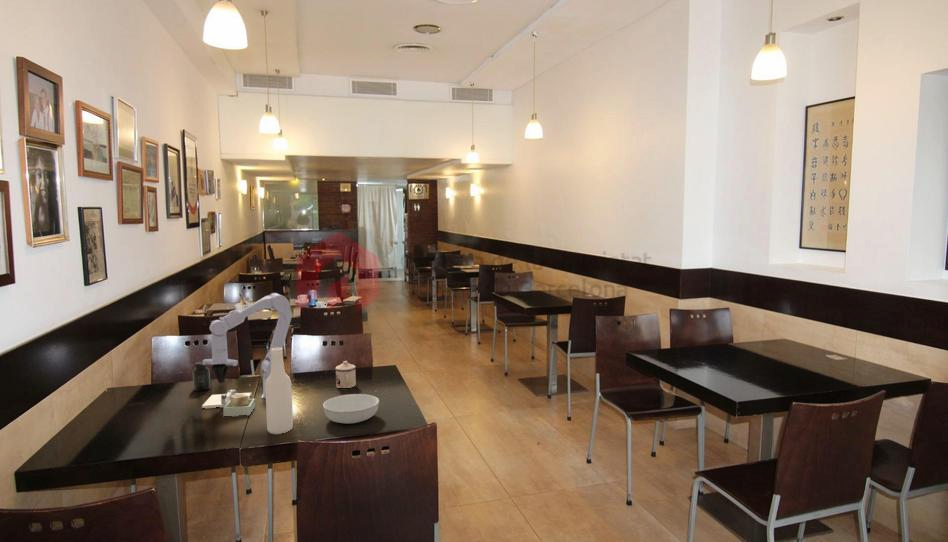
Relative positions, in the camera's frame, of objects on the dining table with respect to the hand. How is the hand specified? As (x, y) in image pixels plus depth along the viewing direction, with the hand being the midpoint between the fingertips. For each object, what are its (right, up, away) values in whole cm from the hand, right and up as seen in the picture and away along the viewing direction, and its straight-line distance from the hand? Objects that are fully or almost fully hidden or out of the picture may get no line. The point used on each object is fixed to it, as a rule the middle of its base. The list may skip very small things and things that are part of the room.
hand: (221, 382), depth 227 cm
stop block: (+11, -10, -8) cm, 17 cm away
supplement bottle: (-19, -8, +22) cm, 30 cm away
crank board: (+1, -9, +4) cm, 10 cm away
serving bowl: (+57, -11, -17) cm, 61 cm away
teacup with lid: (+46, -7, +22) cm, 52 cm away
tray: (+11, -10, -8) cm, 17 cm away
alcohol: (+34, -12, -27) cm, 45 cm away
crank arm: (+2, -8, +3) cm, 8 cm away
